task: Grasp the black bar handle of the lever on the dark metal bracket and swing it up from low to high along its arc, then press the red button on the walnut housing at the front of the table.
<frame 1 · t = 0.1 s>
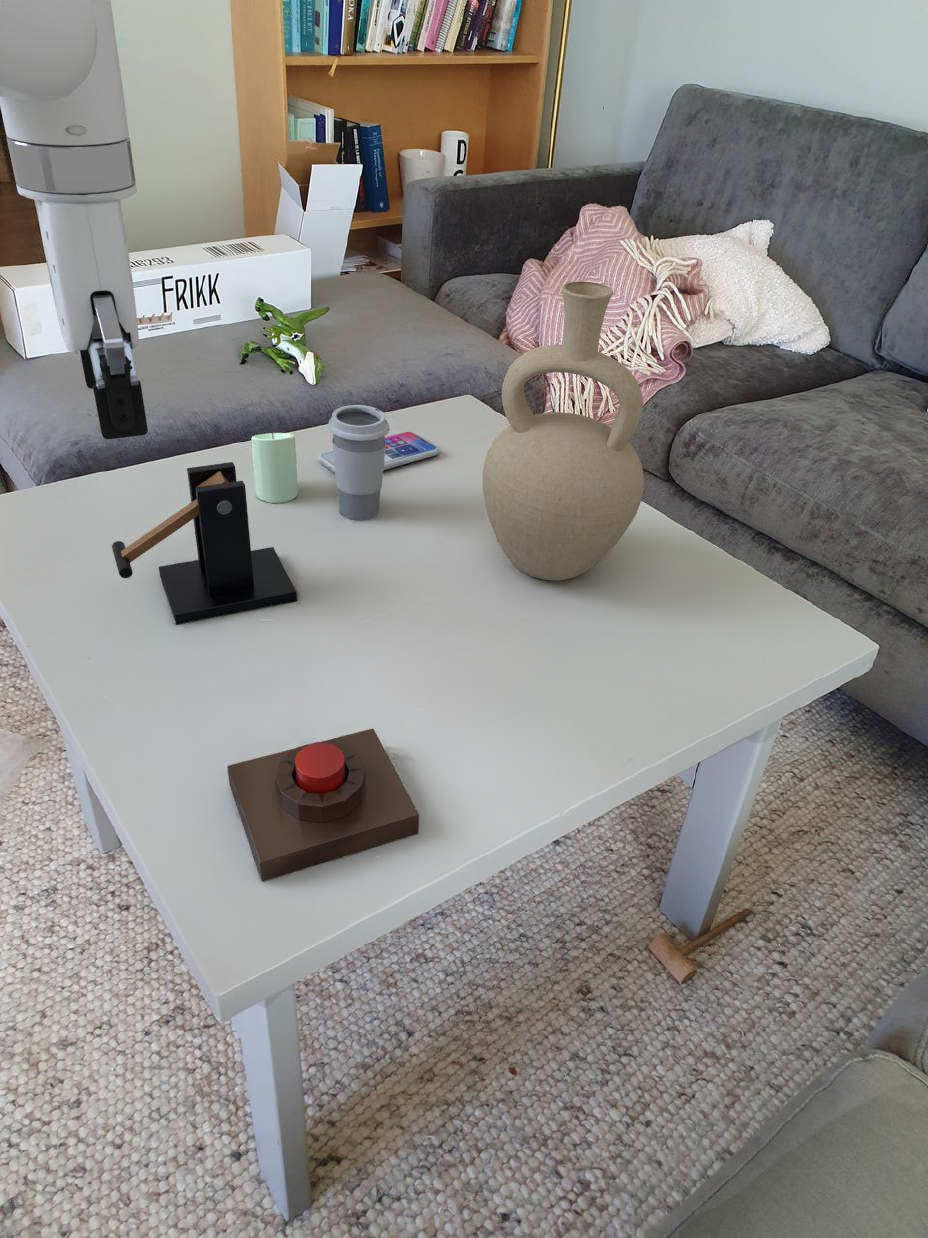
hand: (116, 409, 71), 24 cm above the table, tool pointing down, fingers open, 9 cm apart
cup: (359, 512, 108), on the table
bracket: (227, 588, 94), on the table
candle: (277, 494, 110), on the table
smartphone: (379, 459, 119), on the table
button box: (322, 809, 71), on the table
button: (320, 768, 68), point 4 cm above the table, slide at 0.1 cm
vase: (550, 566, 101), on the table
lever: (173, 523, 87), point 8 cm above the table, hinge at -30.0°
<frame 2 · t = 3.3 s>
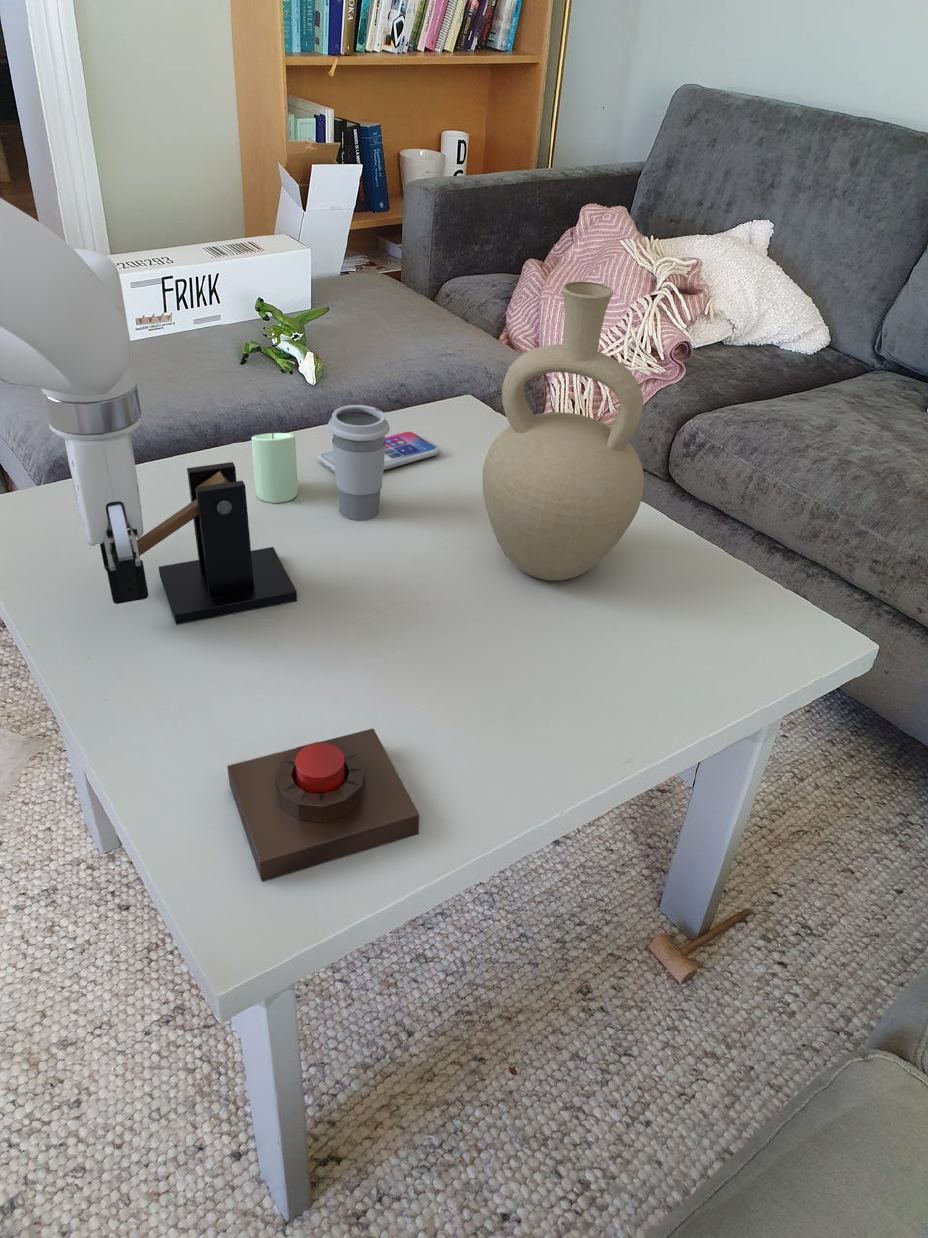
hand: (126, 581, 88), 3 cm above the table, tool pointing down, fingers closed on lever, 5 cm apart
lever: (173, 523, 87), point 8 cm above the table, hinge at -30.0°, touching gripper
everything else where it was.
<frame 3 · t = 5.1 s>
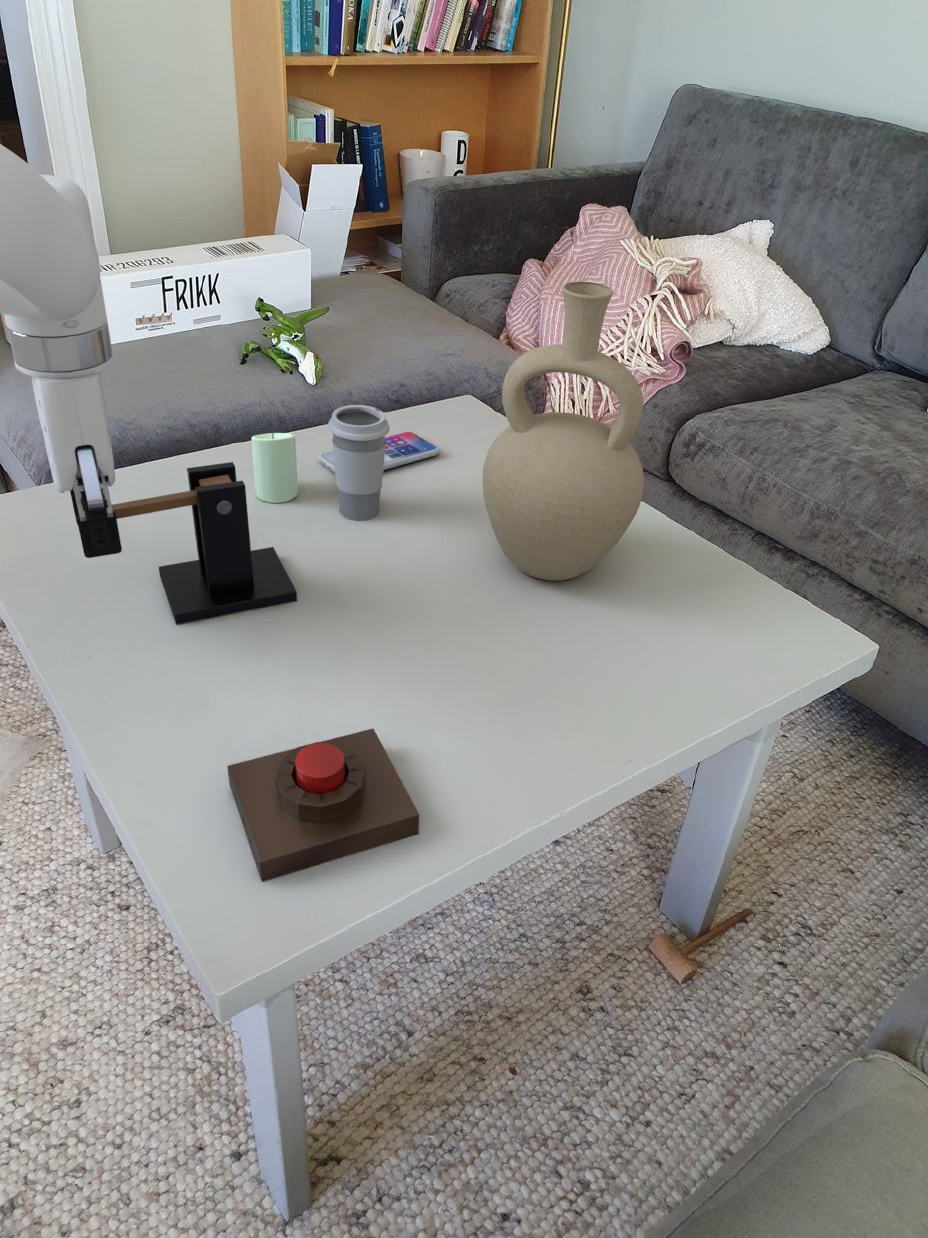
hand: (98, 536, 85), 8 cm above the table, tool pointing down, fingers closed on lever, 5 cm apart
lever: (162, 503, 85), point 11 cm above the table, hinge at -2.1°, touching gripper
everything else where it was.
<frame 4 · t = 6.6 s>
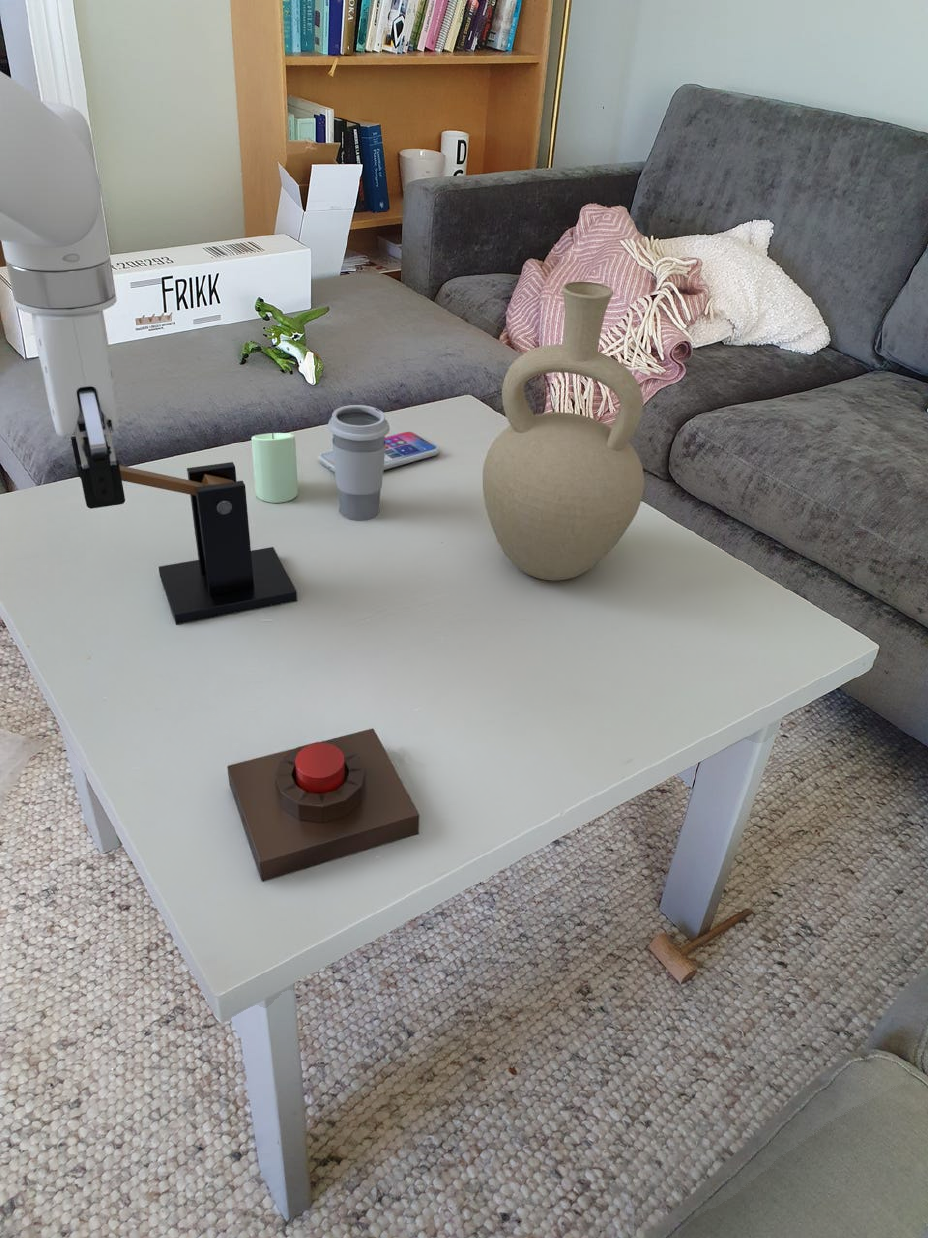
hand: (101, 488, 82), 13 cm above the table, tool pointing down, fingers closed on lever, 5 cm apart
lever: (163, 481, 84), point 13 cm above the table, hinge at 22.4°, touching gripper
everything else where it was.
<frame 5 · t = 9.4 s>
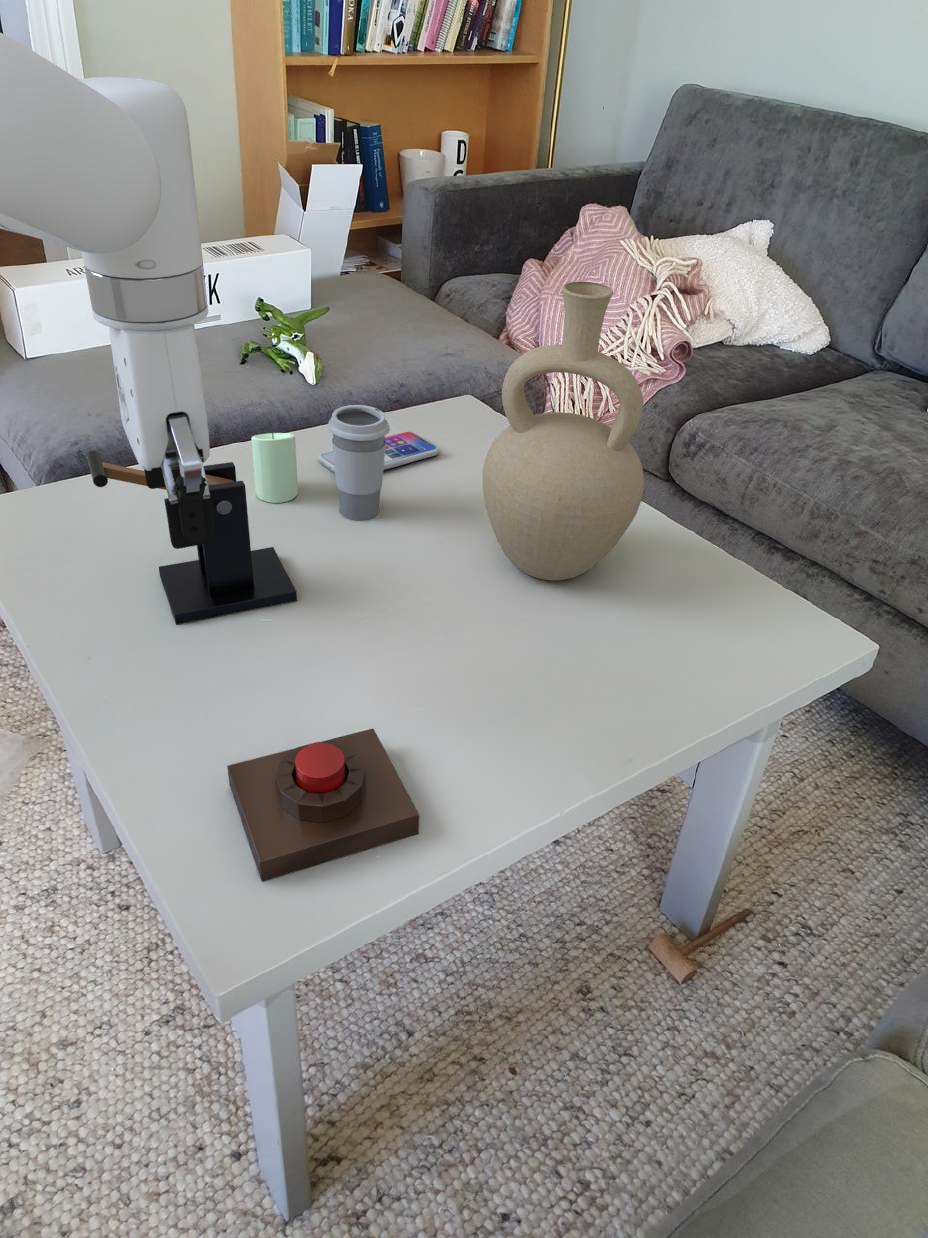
hand: (180, 512, 72), 17 cm above the table, tool pointing down, fingers open, 9 cm apart
lever: (163, 482, 84), point 13 cm above the table, hinge at 22.2°
everything else where it was.
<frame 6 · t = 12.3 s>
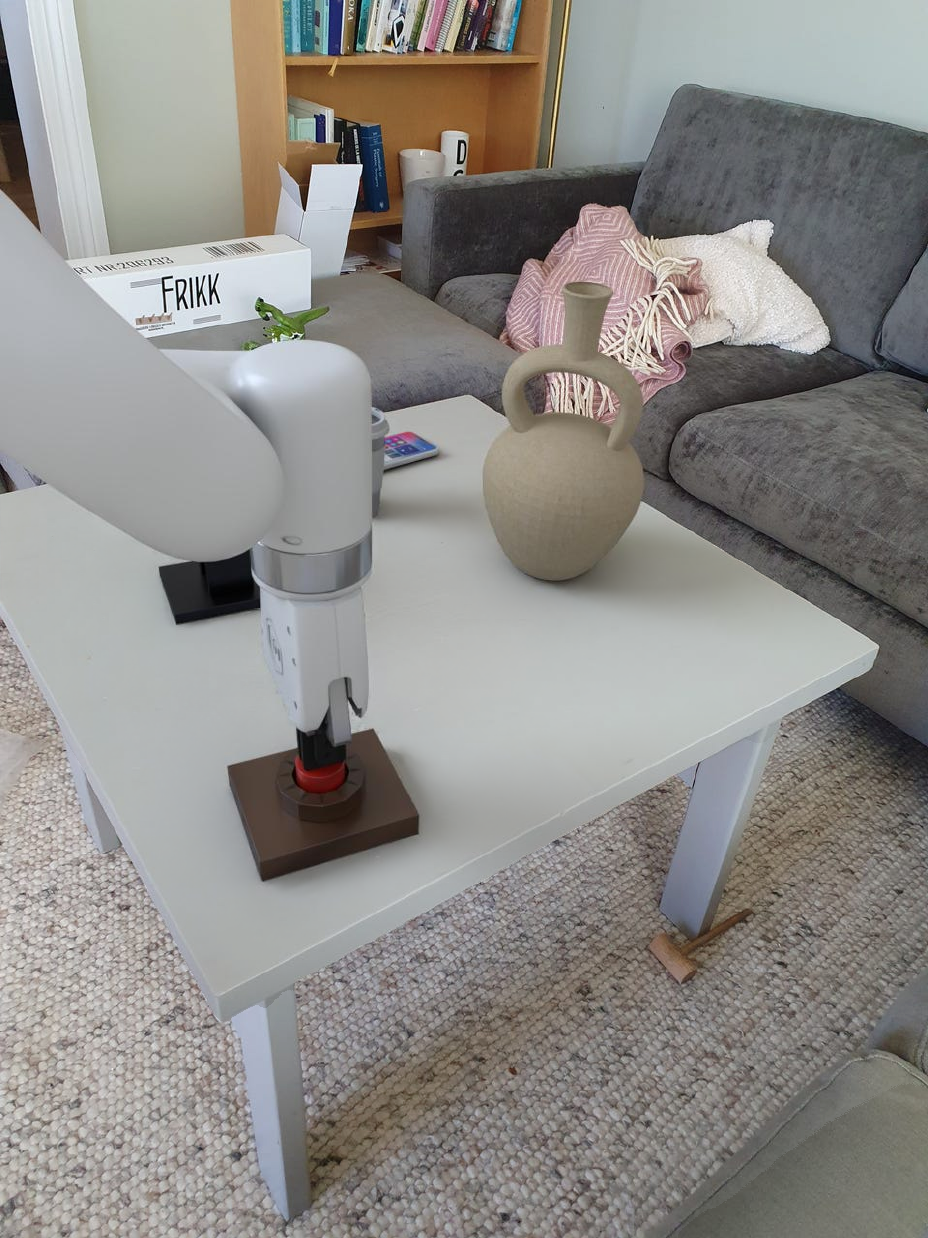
hand: (322, 759, 67), 5 cm above the table, tool pointing down, fingers closed
button: (320, 768, 68), point 4 cm above the table, slide at 0.0 cm, touching gripper
everything else where it was.
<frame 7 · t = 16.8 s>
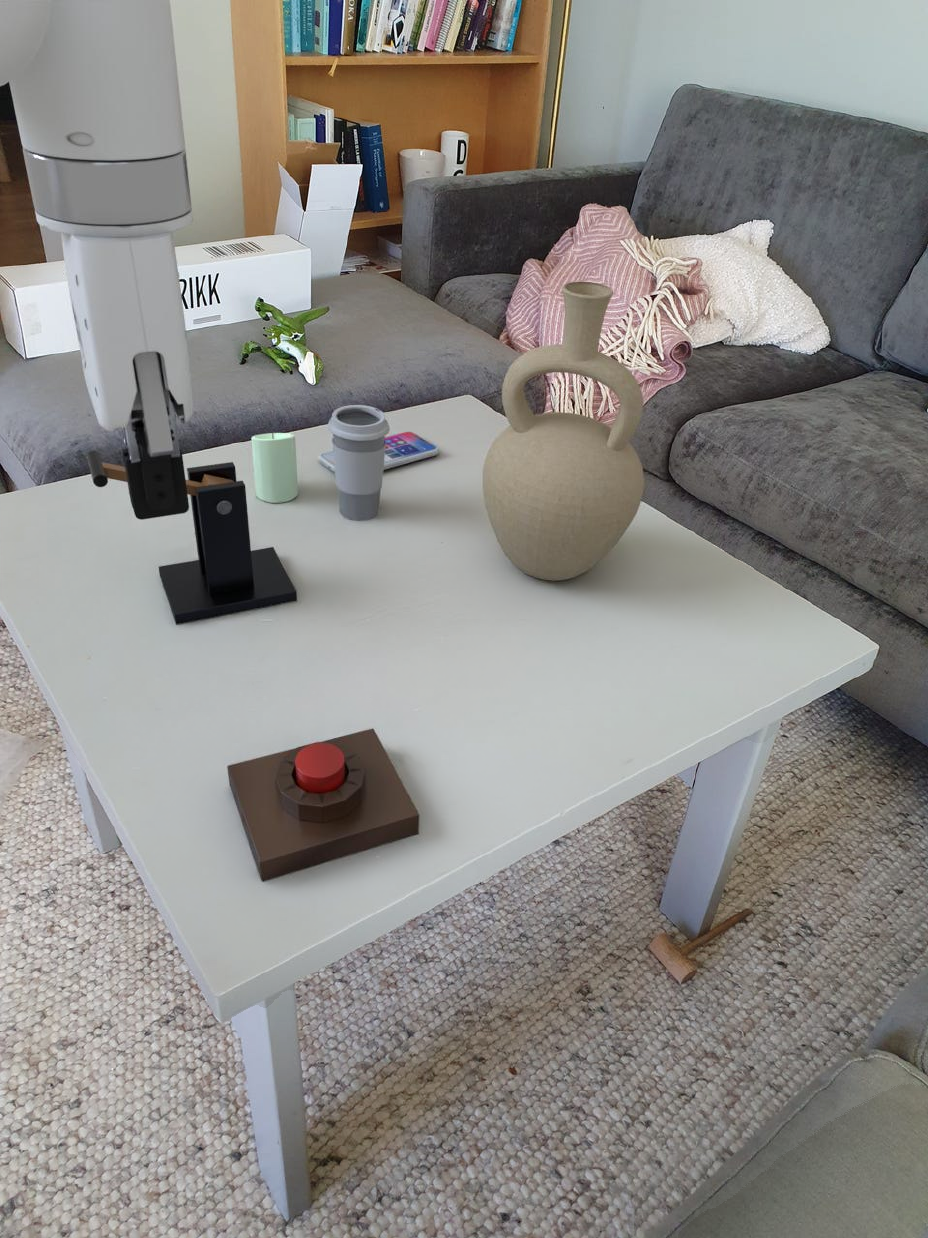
hand: (160, 509, 56), 25 cm above the table, tool pointing down, fingers closed
button: (320, 768, 68), point 4 cm above the table, slide at 0.1 cm
everything else where it was.
at the end: lever at +22° (first picture: -30°); button pushed in 1.1 cm at the most during the clip, back to where it started at the end; button slide at 0.1 cm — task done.
